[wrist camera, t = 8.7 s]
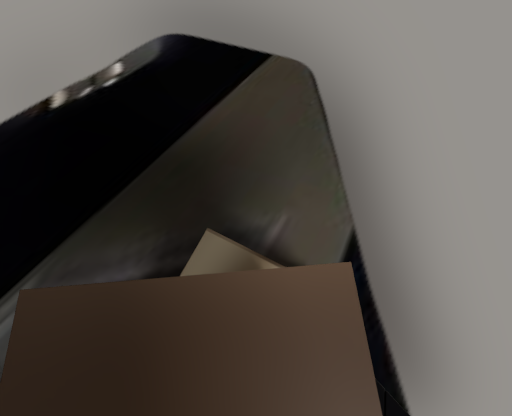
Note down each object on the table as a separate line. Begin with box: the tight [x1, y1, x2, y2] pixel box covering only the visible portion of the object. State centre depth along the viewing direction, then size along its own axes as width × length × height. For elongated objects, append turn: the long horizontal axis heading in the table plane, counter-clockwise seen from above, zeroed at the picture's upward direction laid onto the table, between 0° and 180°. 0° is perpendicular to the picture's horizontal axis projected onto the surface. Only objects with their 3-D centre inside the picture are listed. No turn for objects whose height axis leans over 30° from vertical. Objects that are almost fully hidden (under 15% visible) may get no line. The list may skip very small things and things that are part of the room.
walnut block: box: [0, 262, 382, 416], centre depth 9 cm, size 5×5×12 cm
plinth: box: [180, 228, 285, 276], centre depth 17 cm, size 10×10×4 cm
